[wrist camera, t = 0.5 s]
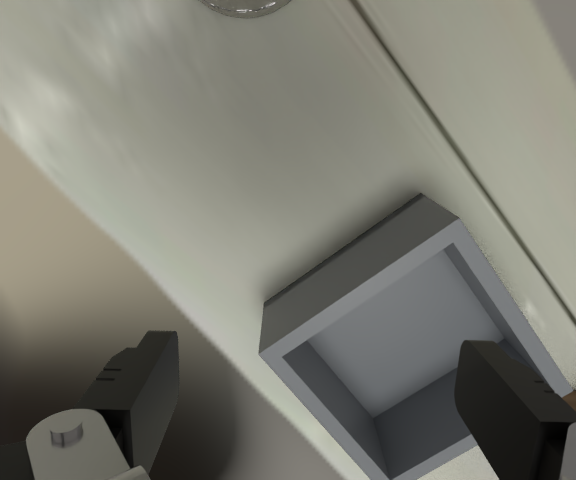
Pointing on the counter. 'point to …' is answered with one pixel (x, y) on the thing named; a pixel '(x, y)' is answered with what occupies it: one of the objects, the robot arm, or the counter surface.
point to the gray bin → (396, 339)
